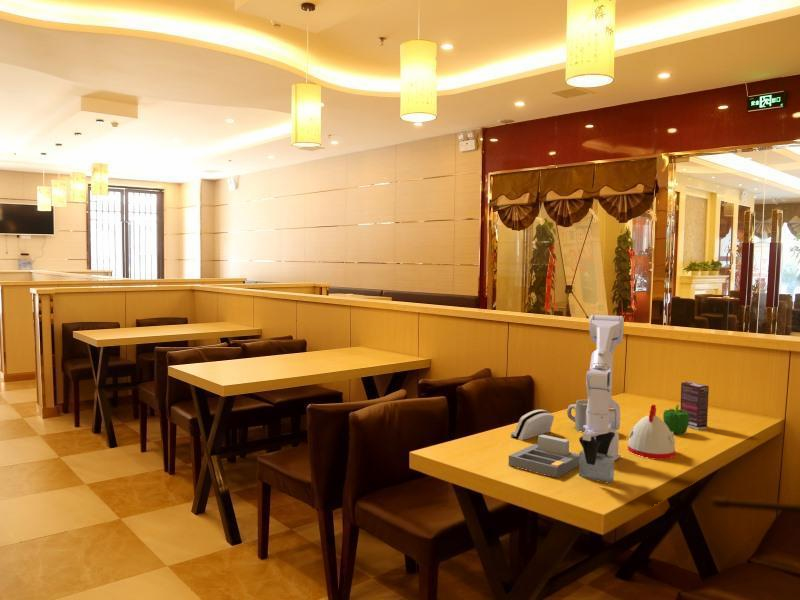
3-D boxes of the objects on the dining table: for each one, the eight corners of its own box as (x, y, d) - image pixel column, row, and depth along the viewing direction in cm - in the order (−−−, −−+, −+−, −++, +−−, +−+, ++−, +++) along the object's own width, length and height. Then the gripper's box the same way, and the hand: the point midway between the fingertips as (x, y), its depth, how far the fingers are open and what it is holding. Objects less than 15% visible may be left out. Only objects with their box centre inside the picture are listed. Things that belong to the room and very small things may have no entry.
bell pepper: (681, 437, 213) (682, 409, 212) (658, 432, 219) (659, 404, 219) (693, 433, 218) (694, 405, 218) (670, 428, 225) (671, 401, 224)
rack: (534, 453, 195) (534, 431, 194) (581, 464, 184) (581, 441, 184) (508, 465, 183) (509, 442, 182) (556, 478, 173) (557, 453, 172)
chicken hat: (677, 450, 200) (679, 404, 198) (671, 461, 188) (673, 413, 187) (632, 443, 207) (633, 398, 206) (624, 454, 195) (625, 407, 194)
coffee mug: (609, 430, 221) (610, 403, 220) (594, 435, 215) (594, 407, 214) (577, 422, 231) (578, 396, 231) (561, 427, 225) (562, 400, 224)
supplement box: (707, 429, 224) (709, 385, 223) (697, 430, 222) (699, 386, 221) (688, 423, 232) (690, 381, 231) (678, 424, 230) (680, 382, 229)
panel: (582, 473, 177) (583, 449, 176) (613, 481, 171) (614, 456, 170) (578, 476, 175) (579, 451, 174) (609, 483, 169) (610, 458, 168)
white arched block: (538, 428, 223) (547, 404, 220) (549, 435, 220) (557, 411, 217) (509, 436, 212) (517, 411, 209) (519, 444, 209) (528, 419, 206)
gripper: (595, 405, 180) (593, 451, 180) (572, 414, 169) (571, 463, 170) (619, 409, 175) (617, 456, 176) (597, 419, 164) (596, 469, 165)
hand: (596, 460), depth 172 cm, fingers open, 7 cm apart
